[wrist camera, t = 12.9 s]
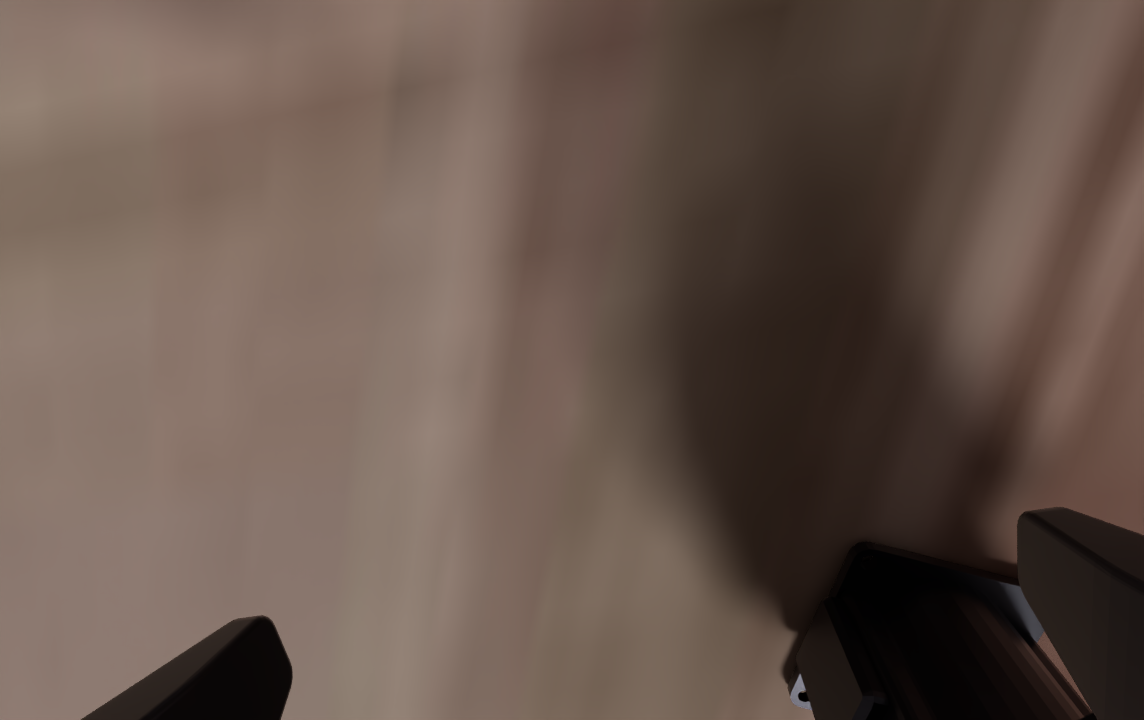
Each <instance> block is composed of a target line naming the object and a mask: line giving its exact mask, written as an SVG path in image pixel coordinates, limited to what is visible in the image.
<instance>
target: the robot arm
mask: <svg viewBox="0 0 1144 720" xmlns="http://www.w3.org/2000/svg"><path fill="white" fill-rule="evenodd" d="M867 556H873V557H872V559H871V560H870V561H867V562H861V560H862V559H863V558H864V557H867ZM1017 572H1018V580H1017V579H1013V578H1009V577H1006V576H1002V575H998V574H994V573H990V572H986V571H982V570H978V569H974V568H970V567H966V566H962V565H959V564H955V563H951V562H947V561H943V560H939V559H935V558H931V557H927V556H923V555H919V554H916V553H912V552H908V551H904V550H900V549H896V548H892V547H888V546H884V545H880V544H876V543H872V542H861V543H858V544H856V545H854V546H853V547H852V548H851V550H850V551H849V553H848V555H847V557H846V559H845V562H844V564H843V566H842V568H841V570H840V573H839V575H838V577H837V579H836V581H835V583H834V586H833V588H832V590H831V592H830V594H829V596H827V597H826V598H825V599H824V600H822V601H821V603H820V605H819V607H818V610H817V612H816V614H815V616H814V618H813V621H812V623H811V625H810V627H809V629H808V632H807V634H806V636H805V638H804V640H803V642H802V645H801V647H800V649H799V651H798V653H797V656H796V662H797V666H796V668H795V670H794V672H793V675H792V677H791V679H790V681H789V683H788V691H789V694H790V697H791V700H792V702H793V703H794V704H795V705H797V706H799V707H802V708H806V709H810V710H812V711H813V714H814V717H815V720H1144V535H1142V534H1139V533H1136V532H1133V531H1130V530H1127V529H1125V528H1122V527H1119V526H1116V525H1113V524H1110V523H1107V522H1105V521H1102V520H1099V519H1096V518H1093V517H1090V516H1087V515H1085V514H1082V513H1079V512H1076V511H1073V510H1070V509H1068V508H1064V507H1053V508H1046V509H1039V510H1032V511H1026V512H1024V513H1023V514H1022V515H1021V516H1020V517H1019V519H1018V524H1017ZM1044 631H1045V633H1046V634H1047V636H1048V638H1049V639H1050V641H1051V643H1052V644H1053V646H1054V648H1055V649H1056V651H1057V653H1058V655H1059V656H1060V658H1061V660H1062V661H1063V663H1064V665H1065V666H1066V668H1067V670H1068V671H1069V673H1070V675H1071V676H1072V678H1073V680H1074V682H1075V683H1076V685H1077V687H1078V688H1079V690H1080V692H1081V693H1082V695H1083V697H1084V698H1085V700H1086V702H1087V704H1088V705H1089V707H1090V708H1091V710H1092V711H1091V710H1090V709H1089V707H1088V706H1087V705H1086V704H1085V702H1084V701H1083V700H1082V699H1081V697H1080V696H1079V695H1078V694H1077V692H1076V691H1075V690H1074V689H1073V687H1072V686H1071V685H1070V684H1069V682H1068V681H1067V680H1066V679H1065V677H1064V676H1063V675H1062V674H1061V672H1060V671H1059V670H1058V669H1057V667H1056V666H1055V665H1054V664H1053V663H1052V661H1051V660H1050V659H1049V658H1048V656H1047V655H1046V654H1045V653H1044V651H1043V650H1042V649H1041V648H1040V646H1039V645H1038V644H1037V642H1038V640H1039V638H1040V637H1041V635H1042V633H1043V632H1044ZM292 678H293V676H292V666H291V663H290V660H289V658H288V655H287V653H286V651H285V648H284V646H283V644H282V641H281V639H280V637H279V634H278V632H277V630H276V627H275V625H274V623H273V621H272V620H271V619H270V618H268V617H266V616H263V615H261V616H253V617H246V618H239V619H235V620H233V621H231V622H229V623H228V624H226V625H225V626H223V627H222V628H220V629H218V630H217V631H215V632H214V633H212V634H211V635H209V636H208V637H206V638H205V639H203V640H202V641H200V642H199V643H197V644H196V645H194V646H192V647H191V648H189V649H188V650H186V651H185V652H183V653H182V654H180V655H179V656H177V657H176V658H174V659H173V660H171V661H170V662H168V663H167V664H165V665H163V666H162V667H160V668H159V669H157V670H156V671H154V672H153V673H151V674H150V675H148V676H147V677H145V678H144V679H142V680H141V681H139V682H137V683H136V684H134V685H133V686H131V687H130V688H128V689H127V690H125V691H124V692H122V693H121V694H119V695H118V696H116V697H115V698H113V699H112V700H110V701H108V702H107V703H105V704H104V705H102V706H101V707H99V708H98V709H96V710H95V711H93V712H92V713H90V714H89V715H87V716H86V717H84V718H82V719H81V720H281V717H282V714H283V710H284V707H285V704H286V701H287V698H288V695H289V692H290V689H291V685H292ZM803 690H806V692H804V693H801V691H803Z"/></svg>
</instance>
